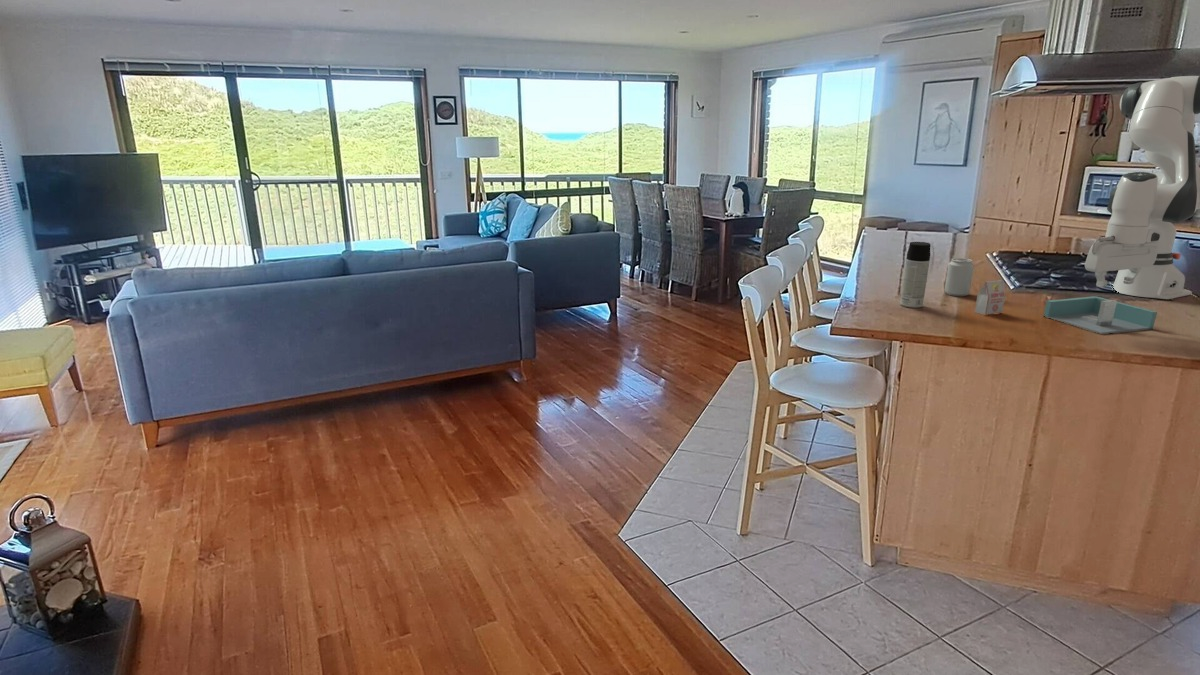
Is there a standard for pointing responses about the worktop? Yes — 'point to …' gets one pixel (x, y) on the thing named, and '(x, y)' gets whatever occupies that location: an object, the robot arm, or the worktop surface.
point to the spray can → (915, 275)
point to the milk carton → (990, 298)
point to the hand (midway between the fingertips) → (1114, 285)
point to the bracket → (1102, 314)
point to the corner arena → (1074, 308)
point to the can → (959, 277)
